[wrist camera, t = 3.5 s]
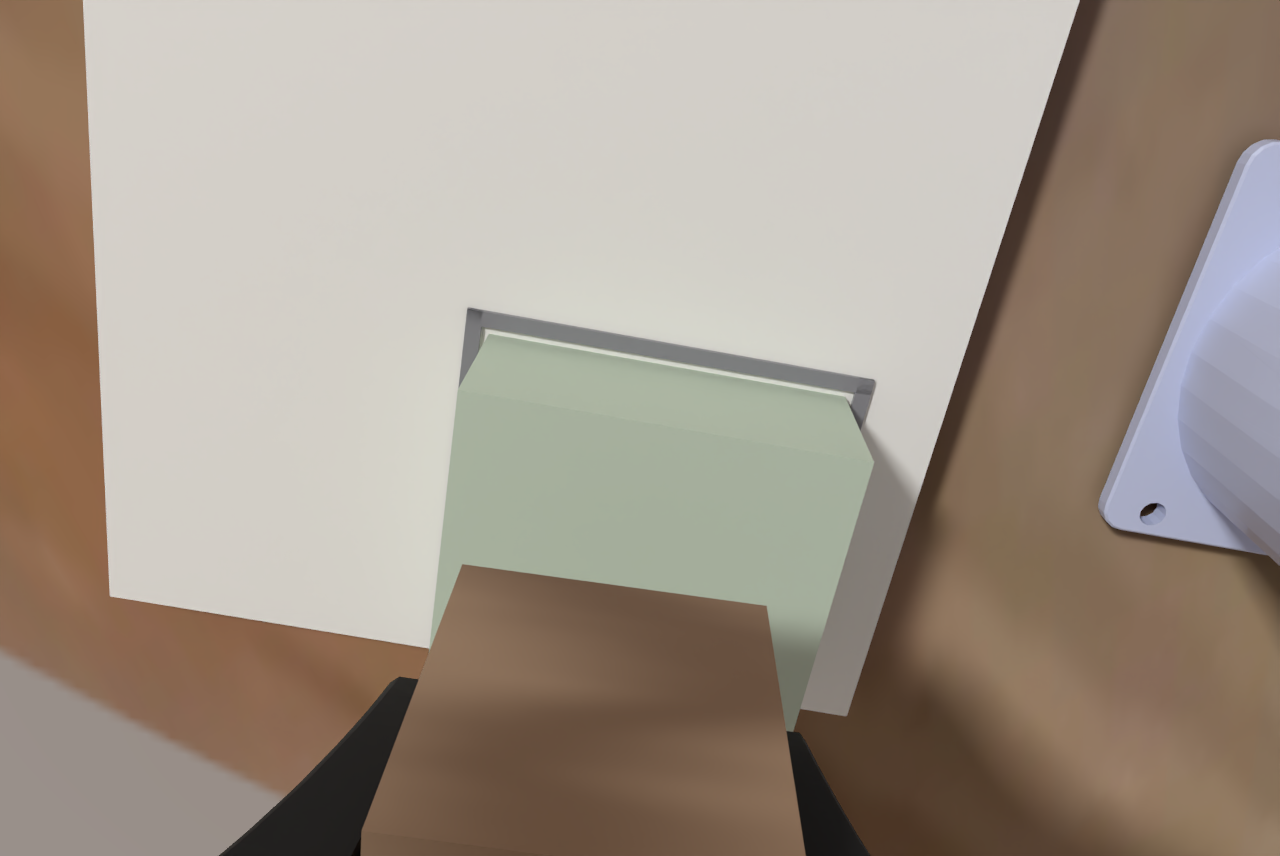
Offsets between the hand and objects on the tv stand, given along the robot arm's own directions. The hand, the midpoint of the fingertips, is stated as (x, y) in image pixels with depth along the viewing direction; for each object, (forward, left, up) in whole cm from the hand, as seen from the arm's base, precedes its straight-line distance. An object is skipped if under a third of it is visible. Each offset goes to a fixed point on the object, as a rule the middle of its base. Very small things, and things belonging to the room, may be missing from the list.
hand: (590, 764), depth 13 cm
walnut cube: (0, 0, -1) cm, 1 cm away
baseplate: (+2, -4, -9) cm, 10 cm away
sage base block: (0, +1, -8) cm, 8 cm away
